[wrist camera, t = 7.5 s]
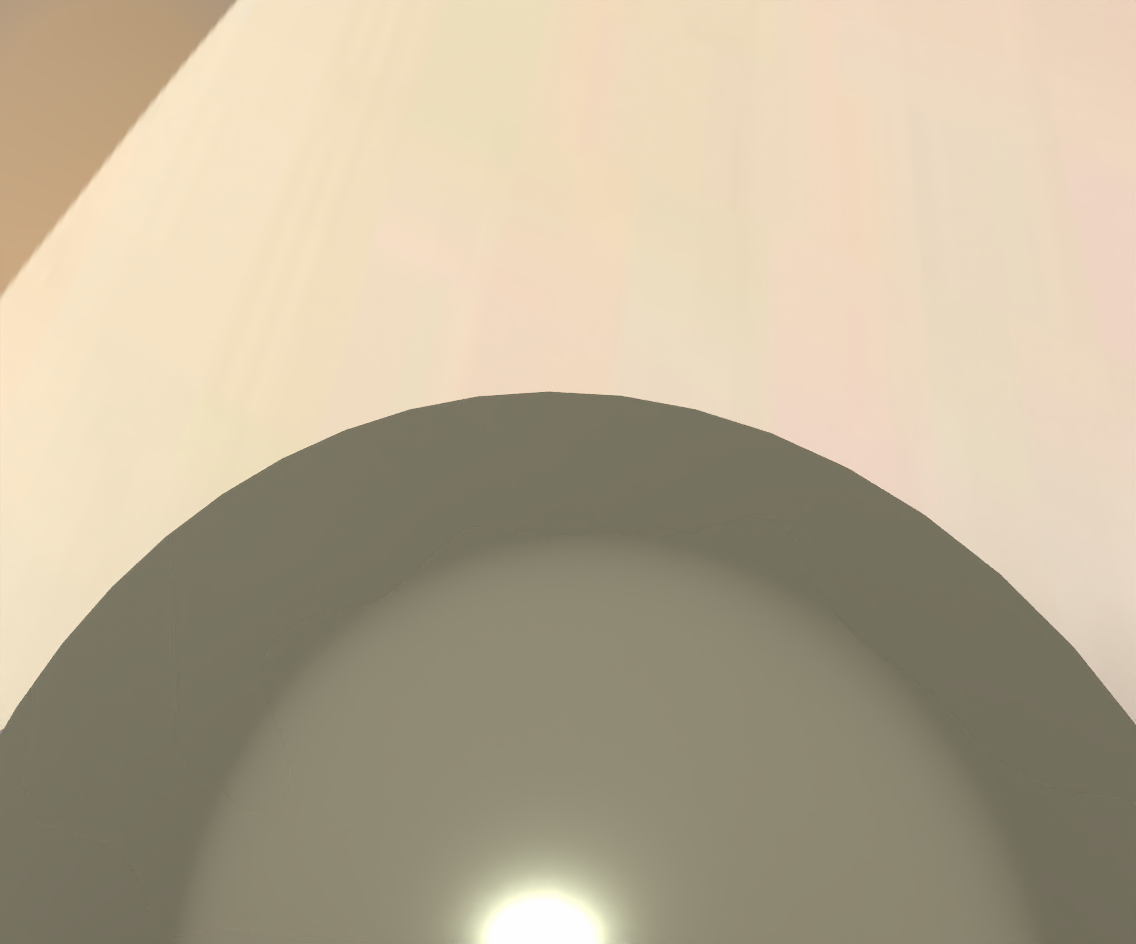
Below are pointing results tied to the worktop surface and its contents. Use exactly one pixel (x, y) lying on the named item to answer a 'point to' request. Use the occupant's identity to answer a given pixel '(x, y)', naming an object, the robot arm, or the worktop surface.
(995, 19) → the worktop surface
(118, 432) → the worktop surface
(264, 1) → the worktop surface
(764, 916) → the sage tin
